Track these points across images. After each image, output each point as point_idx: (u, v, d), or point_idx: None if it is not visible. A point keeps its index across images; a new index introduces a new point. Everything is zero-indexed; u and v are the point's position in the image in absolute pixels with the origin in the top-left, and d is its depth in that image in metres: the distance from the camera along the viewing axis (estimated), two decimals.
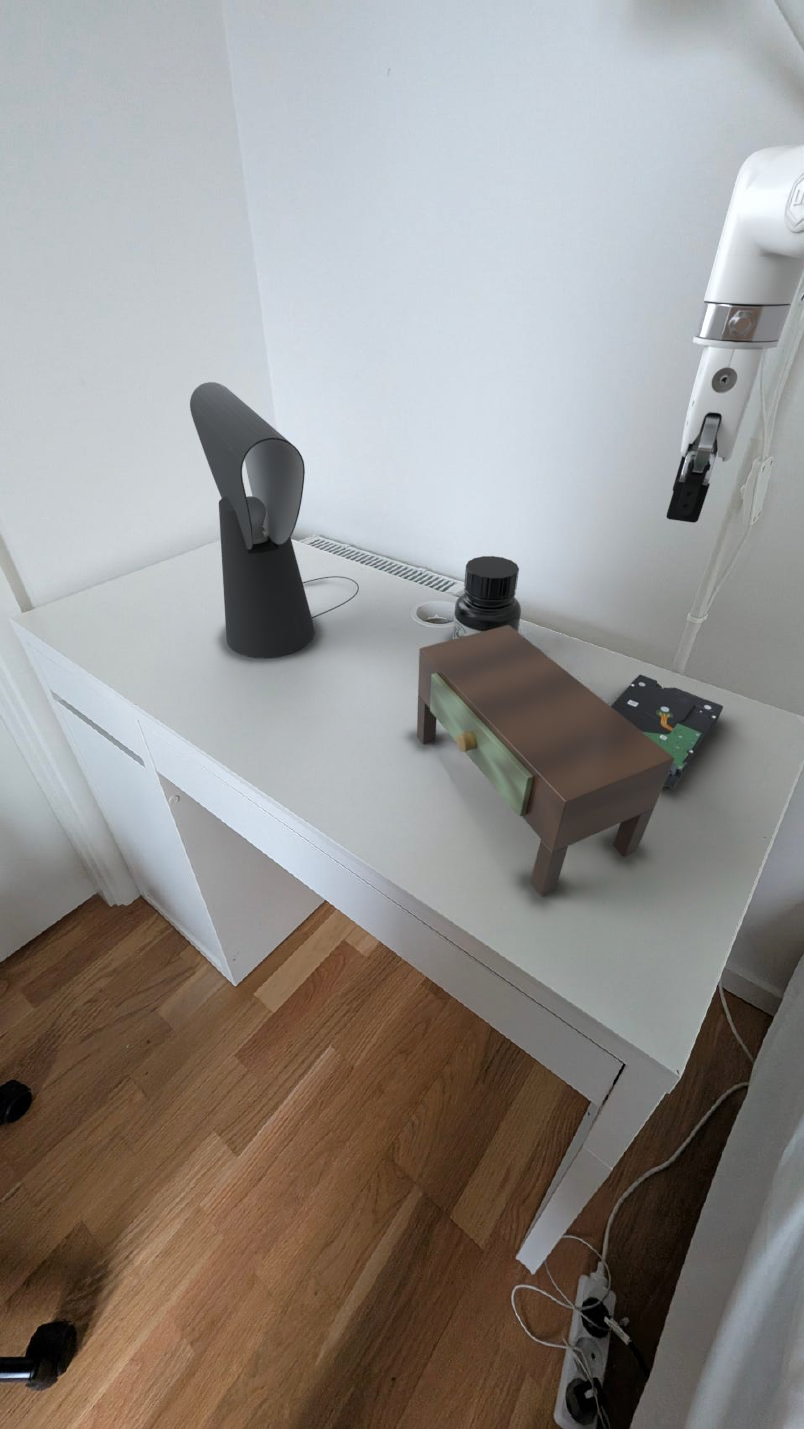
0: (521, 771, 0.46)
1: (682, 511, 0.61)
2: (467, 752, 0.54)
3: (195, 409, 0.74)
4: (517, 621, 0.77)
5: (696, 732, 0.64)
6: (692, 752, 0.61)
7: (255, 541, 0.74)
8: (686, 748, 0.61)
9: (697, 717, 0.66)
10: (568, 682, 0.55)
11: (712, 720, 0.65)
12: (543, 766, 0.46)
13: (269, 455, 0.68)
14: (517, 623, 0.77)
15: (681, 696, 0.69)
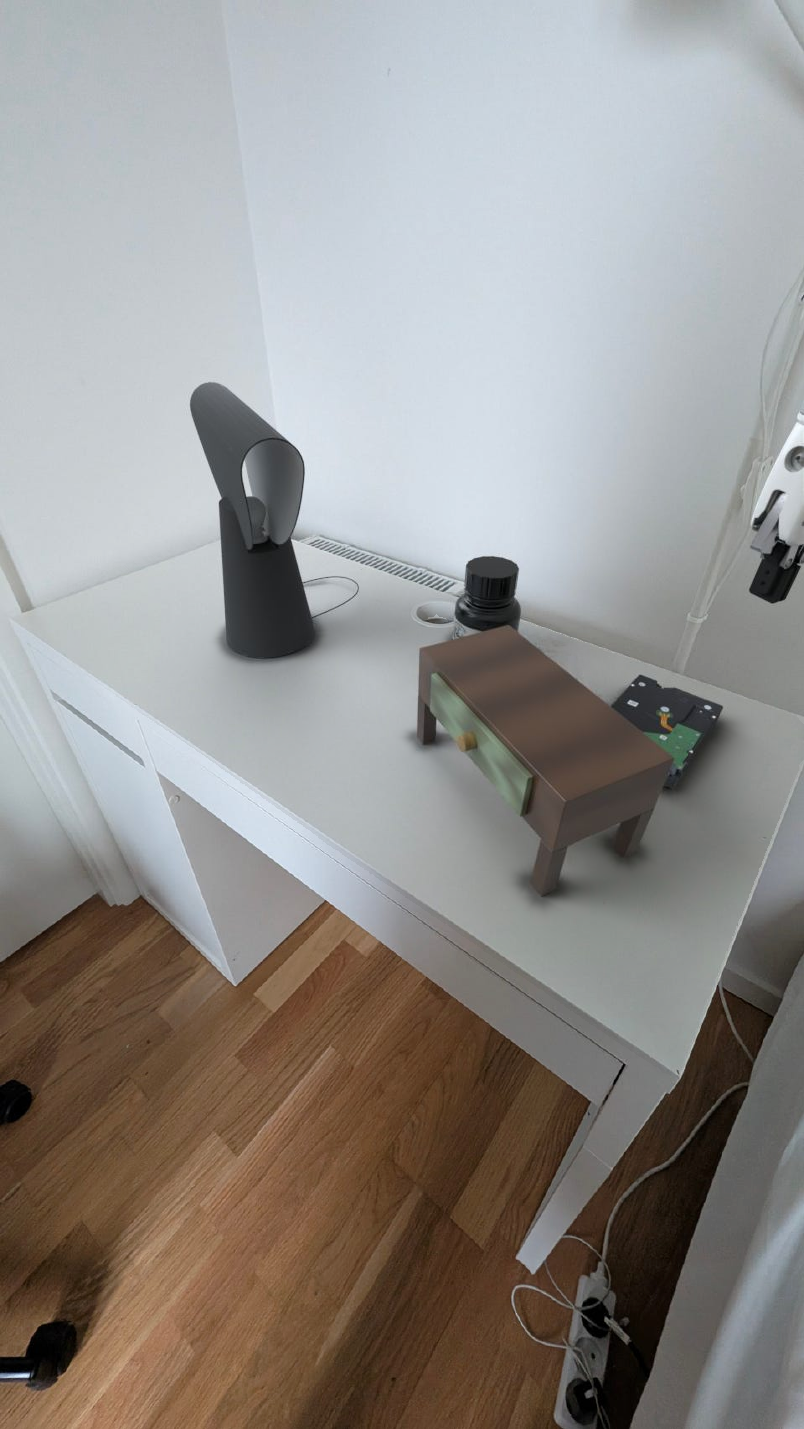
0: (521, 771, 0.46)
1: (759, 588, 0.60)
2: (467, 752, 0.54)
3: (195, 409, 0.74)
4: (517, 621, 0.77)
5: (696, 732, 0.64)
6: (692, 752, 0.61)
7: (255, 541, 0.74)
8: (686, 748, 0.61)
9: (697, 717, 0.66)
10: (568, 682, 0.55)
11: (712, 720, 0.65)
12: (543, 766, 0.46)
13: (269, 455, 0.68)
14: (517, 623, 0.77)
15: (681, 696, 0.69)
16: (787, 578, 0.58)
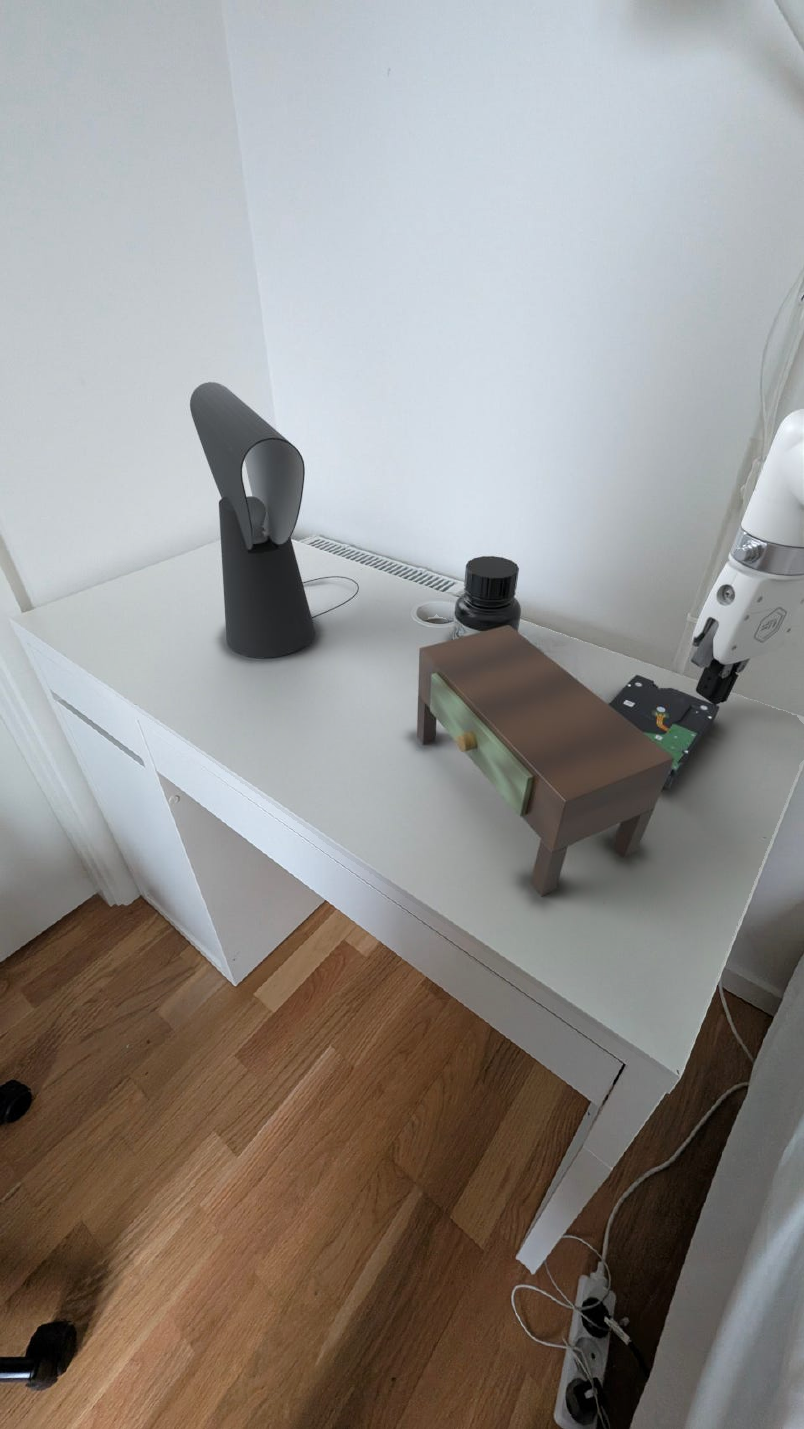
0: (521, 771, 0.46)
1: (703, 690, 0.68)
2: (467, 752, 0.54)
3: (195, 409, 0.74)
4: (517, 621, 0.77)
5: (692, 732, 0.64)
6: (687, 752, 0.61)
7: (255, 541, 0.74)
8: (682, 748, 0.61)
9: (693, 717, 0.66)
10: (568, 682, 0.55)
11: (708, 720, 0.65)
12: (543, 766, 0.46)
13: (269, 455, 0.68)
14: (517, 623, 0.77)
15: (677, 696, 0.69)
16: (726, 685, 0.66)
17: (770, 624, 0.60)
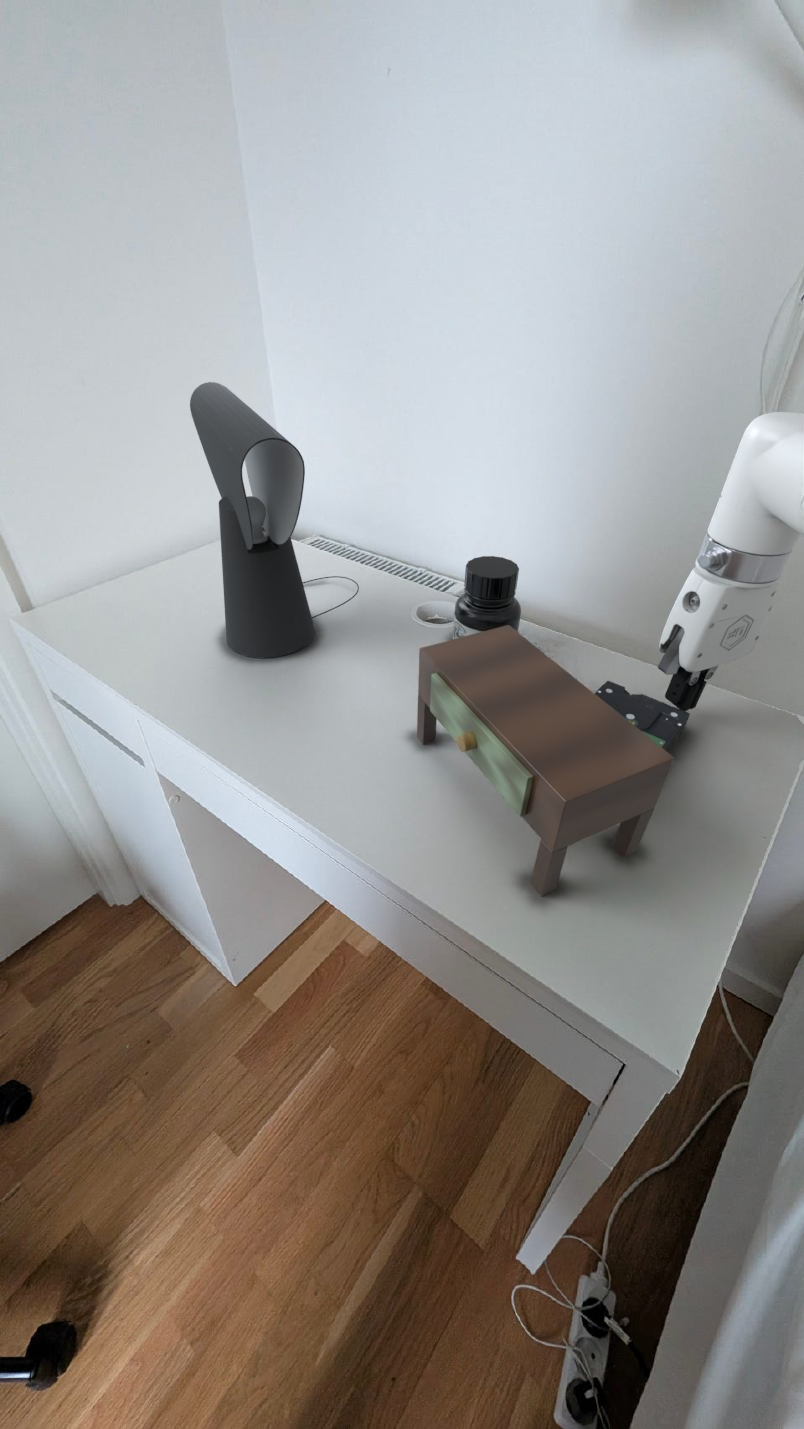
0: (521, 771, 0.46)
1: (671, 697, 0.67)
2: (467, 752, 0.54)
3: (195, 409, 0.74)
4: (517, 621, 0.77)
5: (660, 740, 0.62)
6: None
7: (255, 541, 0.74)
8: None
9: (663, 725, 0.65)
10: (568, 682, 0.55)
11: (677, 728, 0.64)
12: (543, 766, 0.46)
13: (269, 455, 0.68)
14: (517, 623, 0.77)
15: (648, 703, 0.68)
16: (694, 692, 0.65)
17: (737, 632, 0.59)
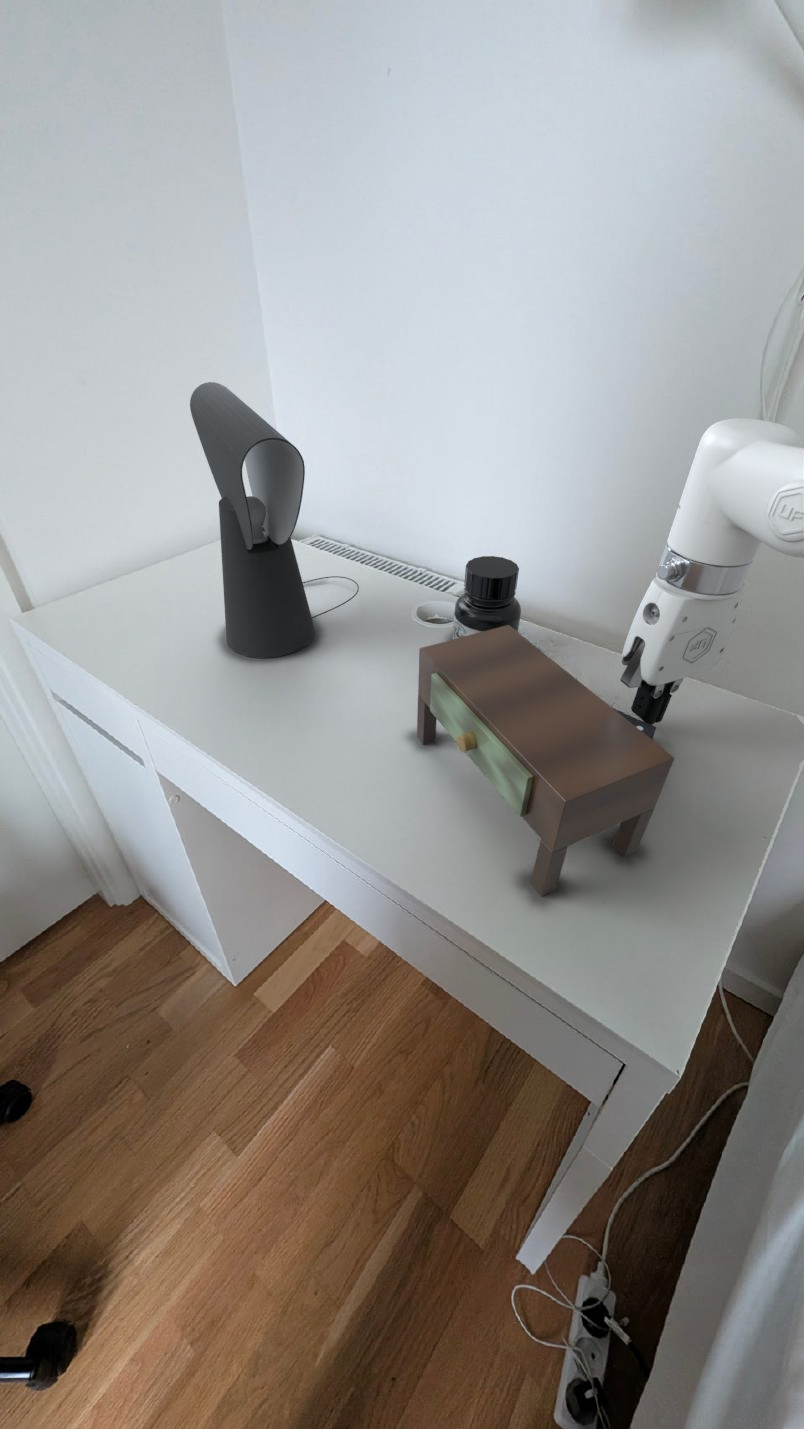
0: (521, 771, 0.46)
1: (637, 710, 0.65)
2: (467, 752, 0.54)
3: (195, 409, 0.74)
4: (517, 621, 0.77)
5: None
6: None
7: (255, 541, 0.74)
8: None
9: None
10: (568, 682, 0.55)
11: None
12: (543, 766, 0.46)
13: (269, 455, 0.68)
14: (517, 623, 0.77)
15: None
16: (659, 705, 0.63)
17: (699, 644, 0.57)
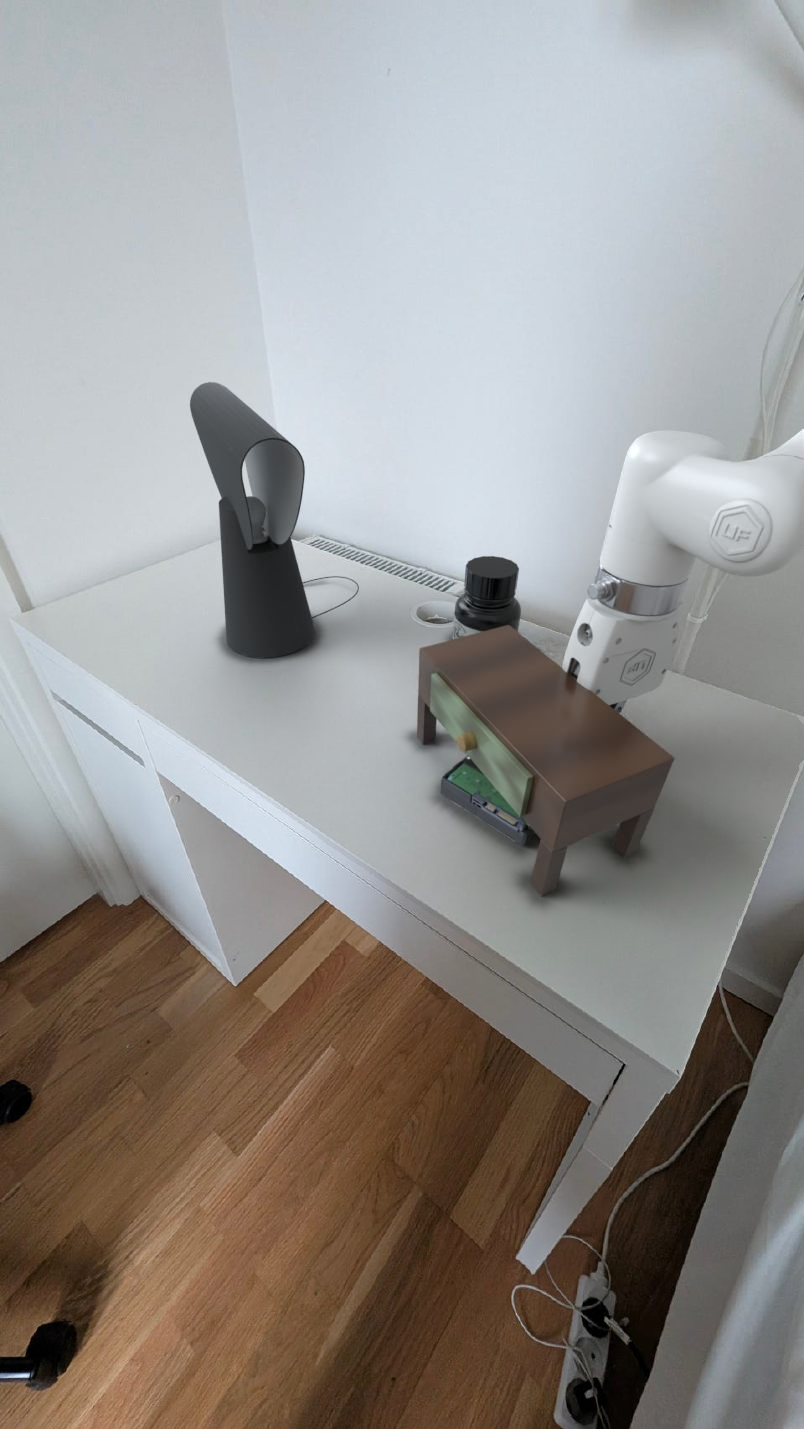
0: (521, 771, 0.46)
1: None
2: (467, 752, 0.54)
3: (195, 409, 0.74)
4: (517, 621, 0.77)
5: None
6: None
7: (255, 541, 0.74)
8: None
9: None
10: (568, 682, 0.55)
11: None
12: (543, 766, 0.46)
13: (269, 455, 0.68)
14: (517, 623, 0.77)
15: None
16: None
17: (637, 666, 0.54)
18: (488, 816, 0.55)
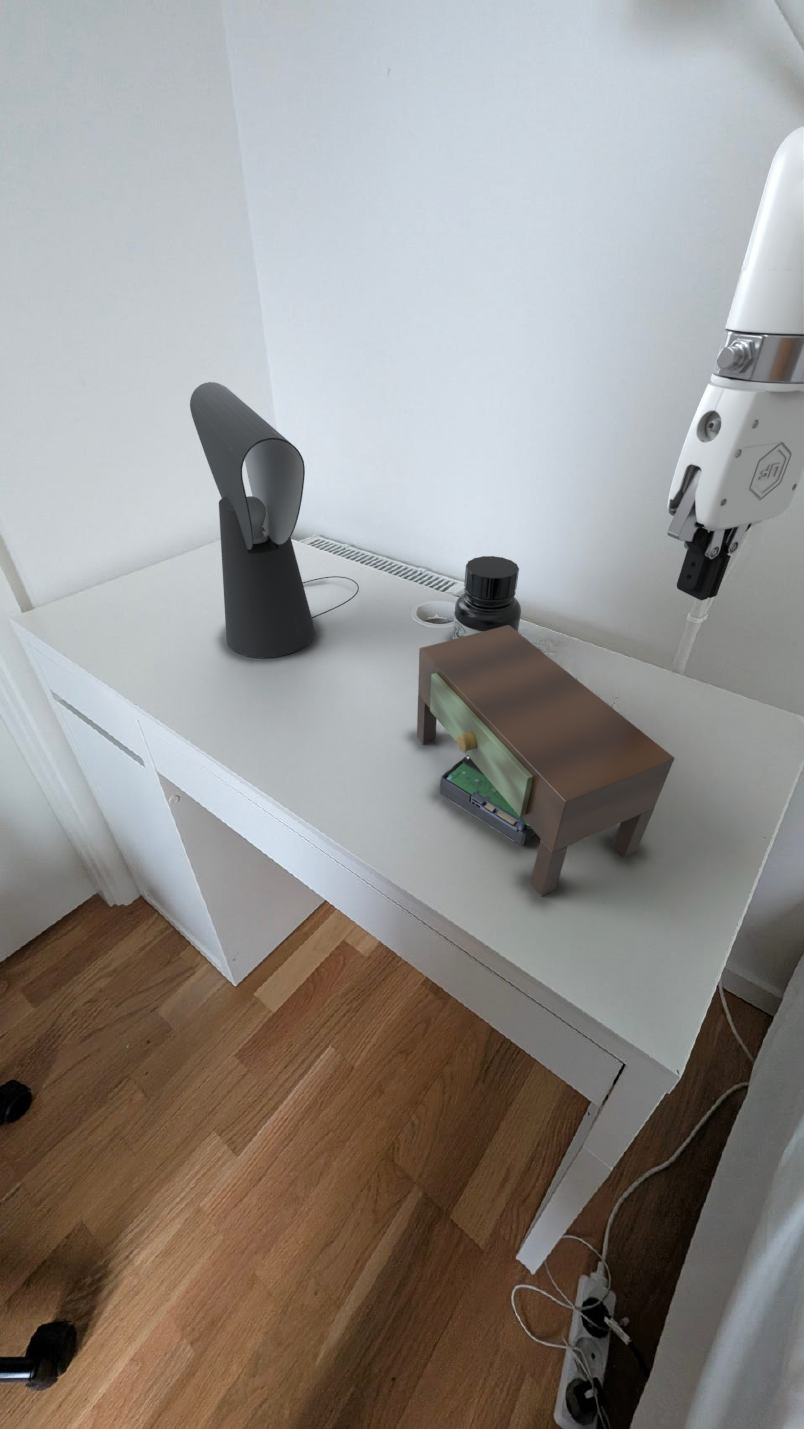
0: (521, 771, 0.46)
1: (686, 583, 0.52)
2: (467, 752, 0.54)
3: (195, 409, 0.74)
4: (517, 621, 0.77)
5: None
6: None
7: (255, 541, 0.74)
8: None
9: None
10: (568, 682, 0.55)
11: None
12: (543, 766, 0.46)
13: (269, 455, 0.68)
14: (517, 623, 0.77)
15: None
16: (715, 570, 0.50)
17: (770, 470, 0.44)
18: (487, 816, 0.55)
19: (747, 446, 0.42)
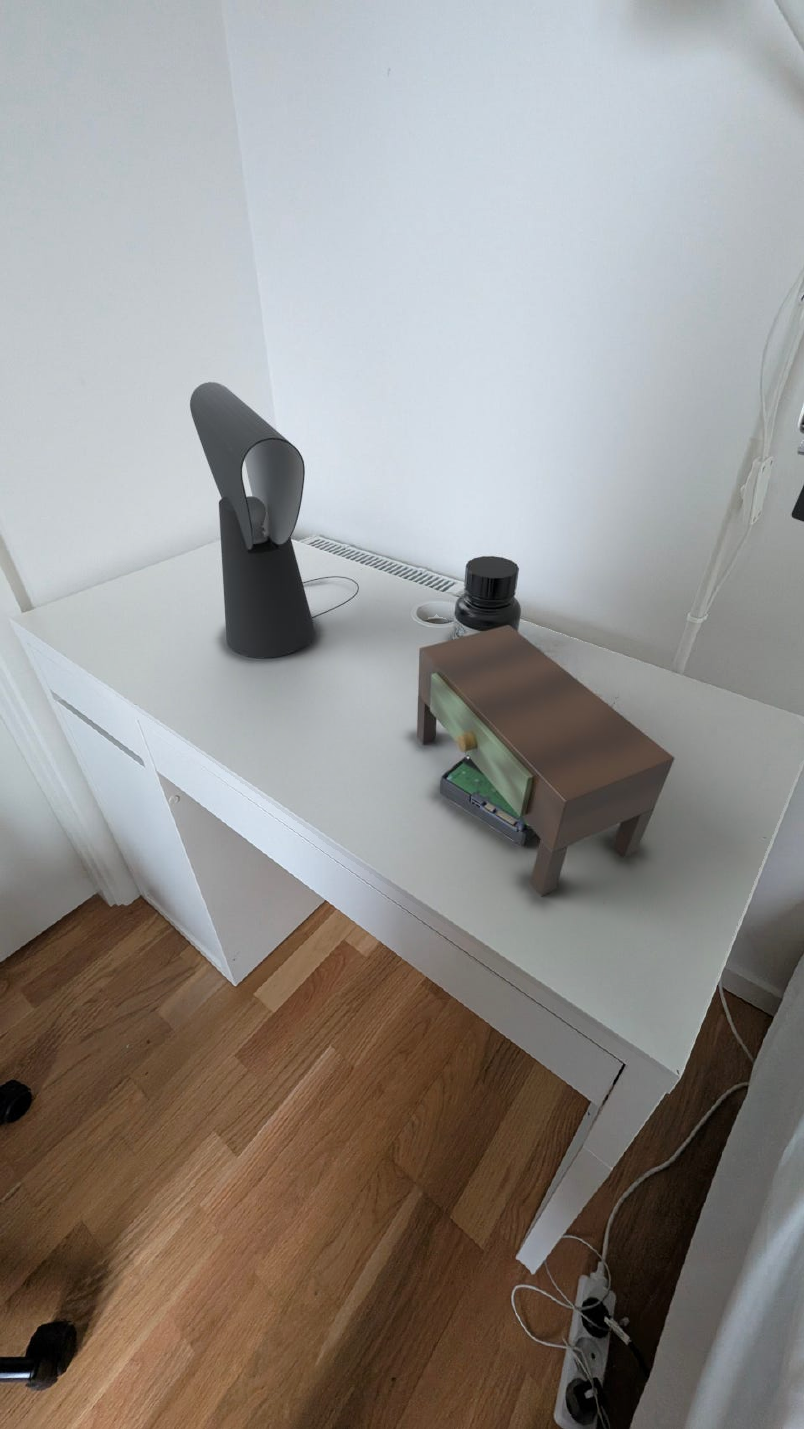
0: (521, 771, 0.46)
1: None
2: (467, 752, 0.54)
3: (195, 409, 0.74)
4: (517, 621, 0.77)
5: None
6: None
7: (255, 541, 0.74)
8: None
9: None
10: (568, 682, 0.55)
11: None
12: (543, 766, 0.46)
13: (269, 455, 0.68)
14: (517, 623, 0.77)
15: None
16: None
17: None
18: (487, 816, 0.55)
19: None
